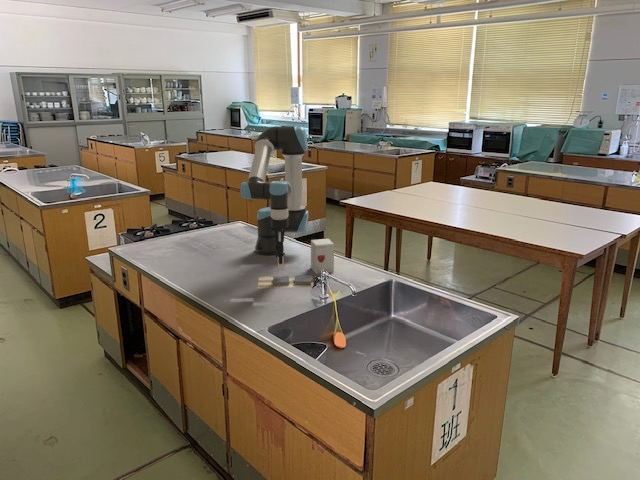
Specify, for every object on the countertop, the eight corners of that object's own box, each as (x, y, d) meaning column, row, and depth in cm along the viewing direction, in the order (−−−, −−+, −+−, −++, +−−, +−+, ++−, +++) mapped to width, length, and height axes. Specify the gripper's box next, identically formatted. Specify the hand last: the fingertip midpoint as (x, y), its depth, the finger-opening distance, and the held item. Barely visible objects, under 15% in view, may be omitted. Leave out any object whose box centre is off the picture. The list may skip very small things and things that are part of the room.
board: (259, 279, 221) (259, 276, 221) (312, 277, 223) (312, 275, 222) (257, 291, 208) (257, 288, 208) (313, 289, 209) (313, 286, 209)
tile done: (294, 279, 218) (294, 275, 217) (310, 278, 218) (310, 275, 218) (294, 285, 211) (294, 281, 211) (311, 284, 211) (311, 281, 211)
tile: (273, 276, 217) (272, 282, 210) (289, 276, 217) (289, 281, 211) (273, 279, 217) (272, 285, 211) (289, 279, 218) (289, 285, 211)
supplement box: (315, 276, 225) (315, 245, 220) (310, 269, 233) (310, 239, 228) (334, 274, 227) (334, 243, 222) (328, 268, 235) (328, 238, 231)
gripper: (271, 214, 215) (272, 265, 222) (270, 221, 202) (271, 275, 209) (288, 214, 215) (289, 264, 222) (288, 221, 203) (289, 274, 210)
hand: (280, 269), depth 216 cm, fingers closed
